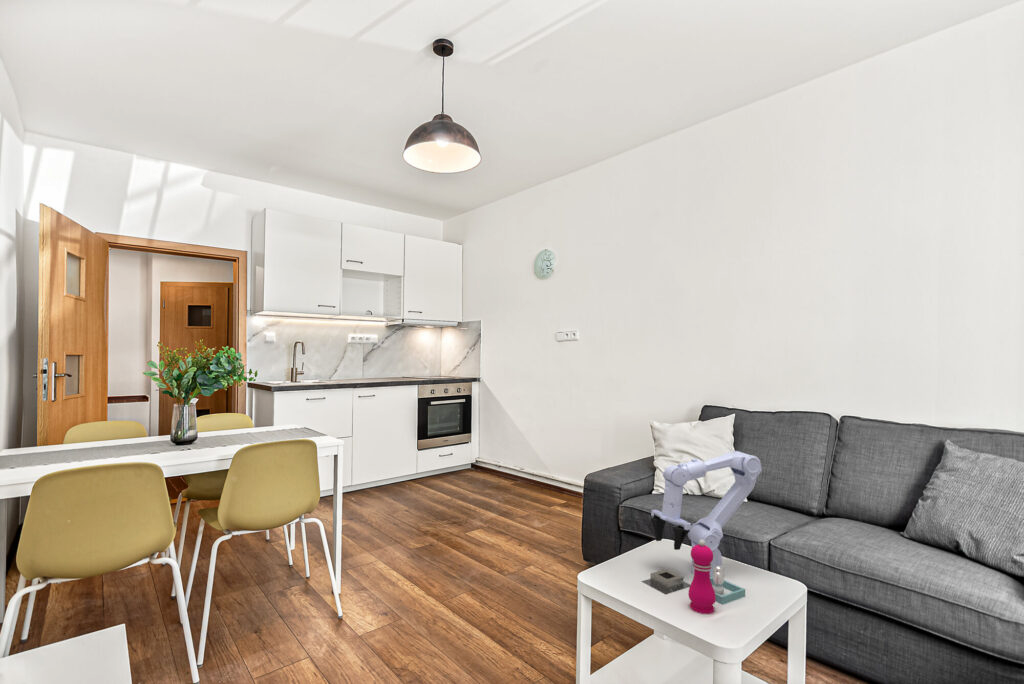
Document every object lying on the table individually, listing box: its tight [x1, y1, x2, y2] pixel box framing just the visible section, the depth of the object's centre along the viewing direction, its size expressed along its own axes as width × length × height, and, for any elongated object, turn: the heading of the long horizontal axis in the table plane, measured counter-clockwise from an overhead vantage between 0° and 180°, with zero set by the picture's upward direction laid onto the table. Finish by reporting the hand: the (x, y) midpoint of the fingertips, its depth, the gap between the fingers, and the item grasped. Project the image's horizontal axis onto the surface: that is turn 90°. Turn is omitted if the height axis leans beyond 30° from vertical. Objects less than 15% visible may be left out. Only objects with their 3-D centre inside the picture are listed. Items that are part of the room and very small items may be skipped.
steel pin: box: [712, 565, 725, 596], centre depth 150 cm, size 3×3×8 cm
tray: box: [710, 577, 746, 605], centre depth 150 cm, size 10×10×3 cm
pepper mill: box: [687, 540, 716, 615], centre depth 141 cm, size 7×7×20 cm
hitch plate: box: [640, 569, 691, 595], centre depth 156 cm, size 12×10×4 cm
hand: (667, 544), depth 162 cm, fingers open, 7 cm apart
